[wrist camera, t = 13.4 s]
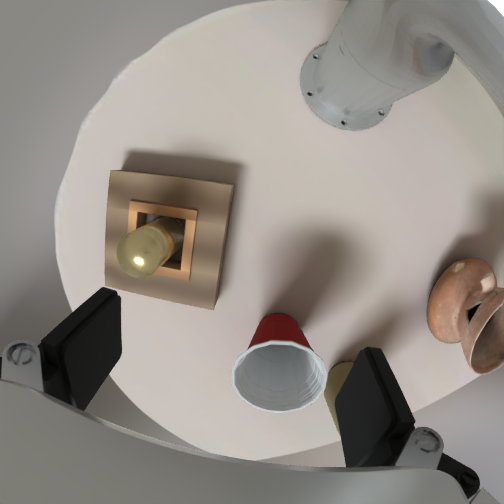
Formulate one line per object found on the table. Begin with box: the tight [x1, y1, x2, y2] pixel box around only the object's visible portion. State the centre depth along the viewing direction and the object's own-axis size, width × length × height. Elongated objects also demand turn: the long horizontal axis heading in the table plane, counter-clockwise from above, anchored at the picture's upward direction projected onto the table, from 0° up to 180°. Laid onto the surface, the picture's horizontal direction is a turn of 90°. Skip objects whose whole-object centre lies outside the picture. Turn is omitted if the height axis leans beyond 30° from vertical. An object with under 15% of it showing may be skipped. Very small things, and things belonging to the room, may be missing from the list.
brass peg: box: [117, 217, 185, 278], centre depth 33 cm, size 5×5×10 cm
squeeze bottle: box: [324, 361, 354, 434], centre depth 34 cm, size 8×8×18 cm
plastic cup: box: [231, 313, 328, 413], centre depth 35 cm, size 11×11×12 cm
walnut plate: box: [105, 170, 234, 310], centre depth 36 cm, size 16×16×3 cm
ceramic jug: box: [427, 258, 504, 375], centre depth 32 cm, size 18×14×14 cm
